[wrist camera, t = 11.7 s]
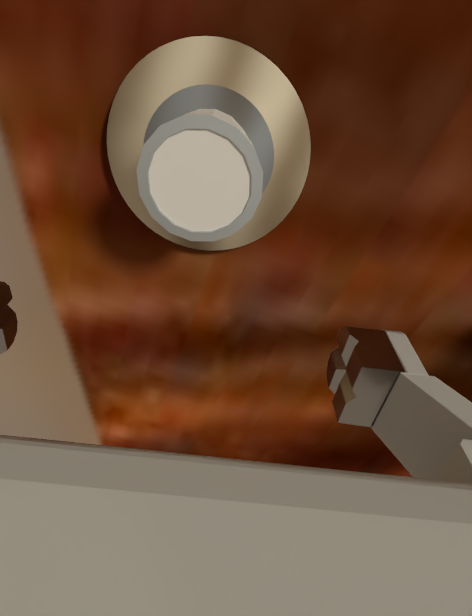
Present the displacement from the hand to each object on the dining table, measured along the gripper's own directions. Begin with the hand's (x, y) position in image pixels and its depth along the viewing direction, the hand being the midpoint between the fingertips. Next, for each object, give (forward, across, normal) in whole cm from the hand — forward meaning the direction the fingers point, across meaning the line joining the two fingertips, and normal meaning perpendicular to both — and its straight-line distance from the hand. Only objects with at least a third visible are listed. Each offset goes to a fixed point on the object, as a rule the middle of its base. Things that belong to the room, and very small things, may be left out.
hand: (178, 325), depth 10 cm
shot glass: (+20, -1, 0) cm, 20 cm away
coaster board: (+22, -1, -1) cm, 22 cm away
